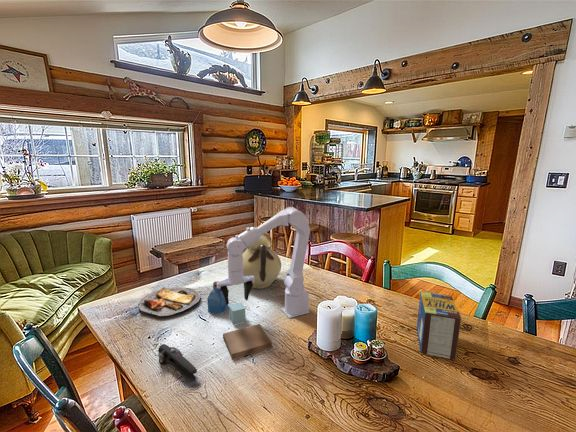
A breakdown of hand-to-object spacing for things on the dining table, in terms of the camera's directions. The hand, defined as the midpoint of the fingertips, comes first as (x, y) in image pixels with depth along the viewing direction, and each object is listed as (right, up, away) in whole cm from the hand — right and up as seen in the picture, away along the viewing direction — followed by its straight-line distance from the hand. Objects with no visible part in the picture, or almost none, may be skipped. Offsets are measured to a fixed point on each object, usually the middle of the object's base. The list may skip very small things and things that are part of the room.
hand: (236, 301), depth 112 cm
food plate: (-32, -6, +15) cm, 36 cm away
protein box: (+72, -11, -12) cm, 73 cm away
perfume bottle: (-10, -6, +10) cm, 16 cm away
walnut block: (+6, -12, -12) cm, 17 cm away
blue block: (0, -8, +2) cm, 8 cm away
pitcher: (+6, -1, +34) cm, 35 cm away
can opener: (-14, -14, -24) cm, 31 cm away
